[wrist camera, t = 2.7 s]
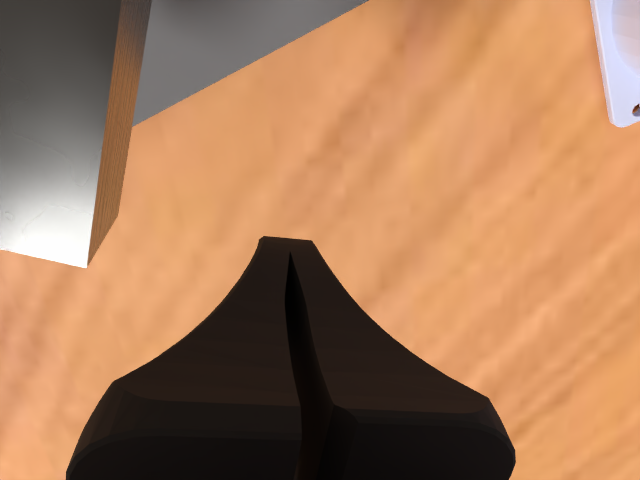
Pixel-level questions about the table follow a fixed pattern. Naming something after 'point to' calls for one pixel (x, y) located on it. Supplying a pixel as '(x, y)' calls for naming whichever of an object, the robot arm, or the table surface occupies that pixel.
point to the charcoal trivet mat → (217, 42)
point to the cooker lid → (66, 121)
